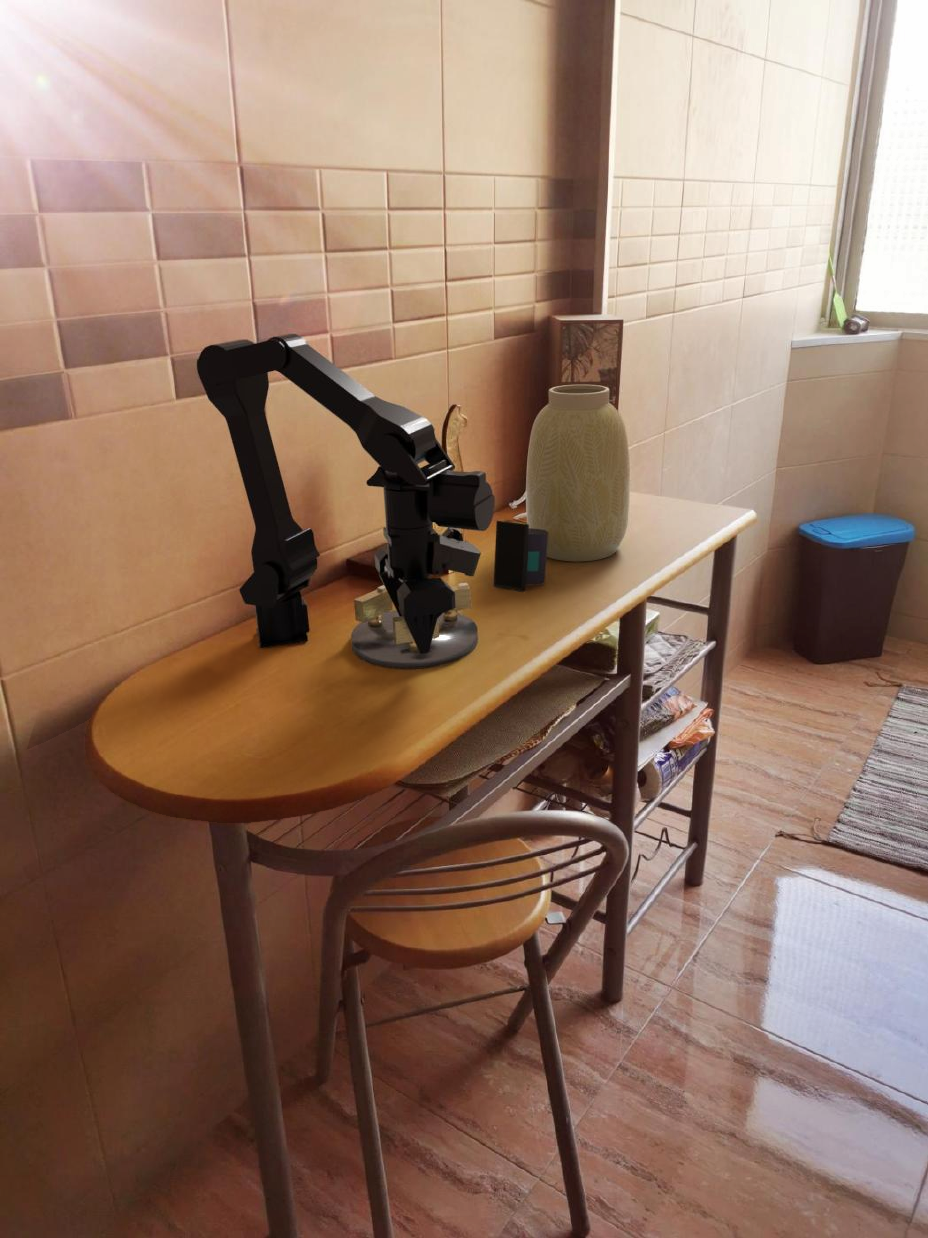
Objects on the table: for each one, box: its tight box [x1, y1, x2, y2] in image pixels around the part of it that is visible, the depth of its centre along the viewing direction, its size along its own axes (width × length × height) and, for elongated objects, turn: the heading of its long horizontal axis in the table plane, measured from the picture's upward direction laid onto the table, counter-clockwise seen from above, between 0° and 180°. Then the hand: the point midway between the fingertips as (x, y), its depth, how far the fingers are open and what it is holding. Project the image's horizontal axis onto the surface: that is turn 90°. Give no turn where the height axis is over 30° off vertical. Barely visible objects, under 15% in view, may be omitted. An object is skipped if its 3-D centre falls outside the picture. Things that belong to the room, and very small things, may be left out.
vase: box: [525, 384, 631, 562], centre depth 154 cm, size 17×17×27 cm
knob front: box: [392, 616, 439, 652], centre depth 118 cm, size 6×2×5 cm, turn 106°
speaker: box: [493, 520, 548, 593], centre depth 142 cm, size 8×6×10 cm
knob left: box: [353, 584, 394, 628], centre depth 126 cm, size 6×2×5 cm, turn 141°
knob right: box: [443, 582, 472, 622], centre depth 127 cm, size 6×2×5 cm, turn 106°
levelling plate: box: [350, 609, 479, 670], centre depth 125 cm, size 17×17×2 cm
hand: (416, 639), depth 119 cm, fingers open, 8 cm apart
